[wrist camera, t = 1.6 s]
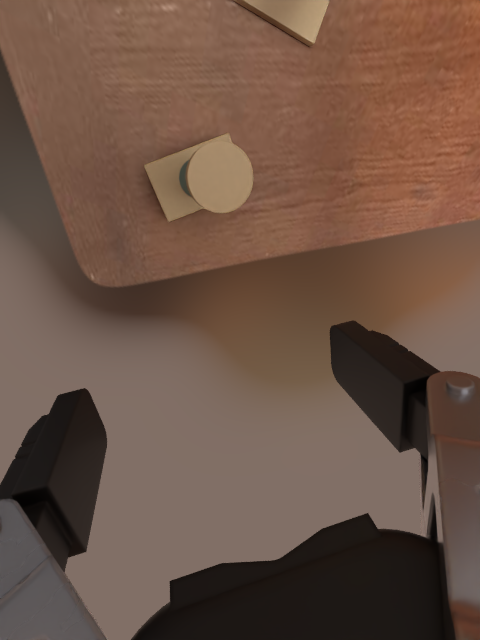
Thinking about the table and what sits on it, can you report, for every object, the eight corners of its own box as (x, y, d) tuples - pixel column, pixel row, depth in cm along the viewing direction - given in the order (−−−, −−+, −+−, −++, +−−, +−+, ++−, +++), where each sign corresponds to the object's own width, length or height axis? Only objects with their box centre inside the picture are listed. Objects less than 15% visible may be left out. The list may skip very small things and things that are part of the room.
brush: (167, 218, 30) (173, 247, 17) (144, 166, 28) (133, 155, 15) (239, 190, 31) (297, 197, 18) (222, 136, 29) (273, 102, 16)
